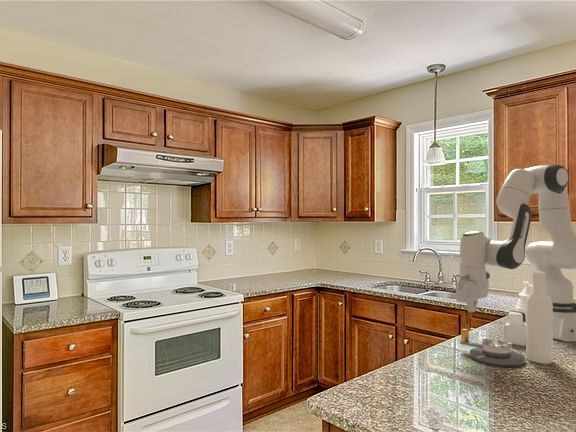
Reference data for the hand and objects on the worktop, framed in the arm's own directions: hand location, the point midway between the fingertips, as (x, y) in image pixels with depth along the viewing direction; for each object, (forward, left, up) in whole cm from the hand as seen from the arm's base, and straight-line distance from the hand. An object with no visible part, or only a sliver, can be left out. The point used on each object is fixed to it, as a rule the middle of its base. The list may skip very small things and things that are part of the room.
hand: (471, 311), depth 160 cm
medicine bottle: (-19, -12, -14) cm, 26 cm away
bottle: (-20, +10, -14) cm, 26 cm away
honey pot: (-38, -58, -14) cm, 71 cm away
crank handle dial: (-2, +9, -12) cm, 15 cm away
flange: (-6, +11, -14) cm, 19 cm away
